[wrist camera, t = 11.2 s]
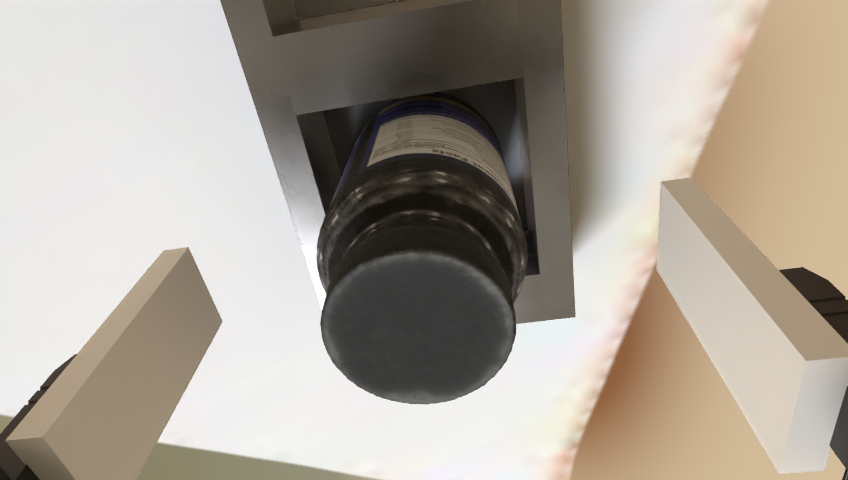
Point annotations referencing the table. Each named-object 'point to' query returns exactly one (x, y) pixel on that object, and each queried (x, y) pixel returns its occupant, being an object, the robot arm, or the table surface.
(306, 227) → the rectangular frame
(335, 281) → the pill bottle
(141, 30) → the table surface
